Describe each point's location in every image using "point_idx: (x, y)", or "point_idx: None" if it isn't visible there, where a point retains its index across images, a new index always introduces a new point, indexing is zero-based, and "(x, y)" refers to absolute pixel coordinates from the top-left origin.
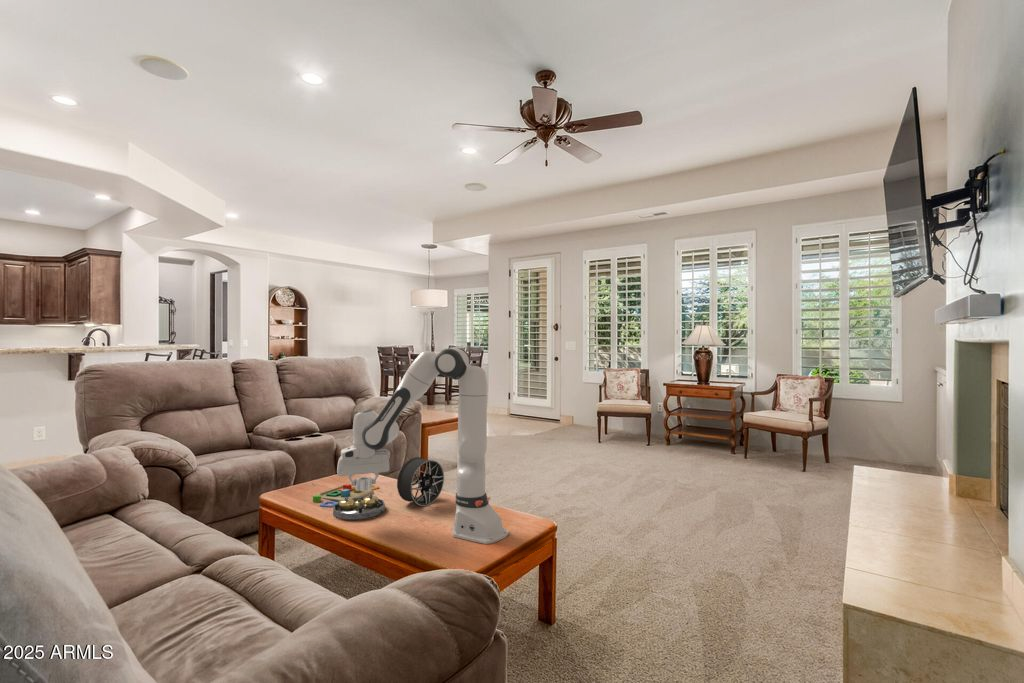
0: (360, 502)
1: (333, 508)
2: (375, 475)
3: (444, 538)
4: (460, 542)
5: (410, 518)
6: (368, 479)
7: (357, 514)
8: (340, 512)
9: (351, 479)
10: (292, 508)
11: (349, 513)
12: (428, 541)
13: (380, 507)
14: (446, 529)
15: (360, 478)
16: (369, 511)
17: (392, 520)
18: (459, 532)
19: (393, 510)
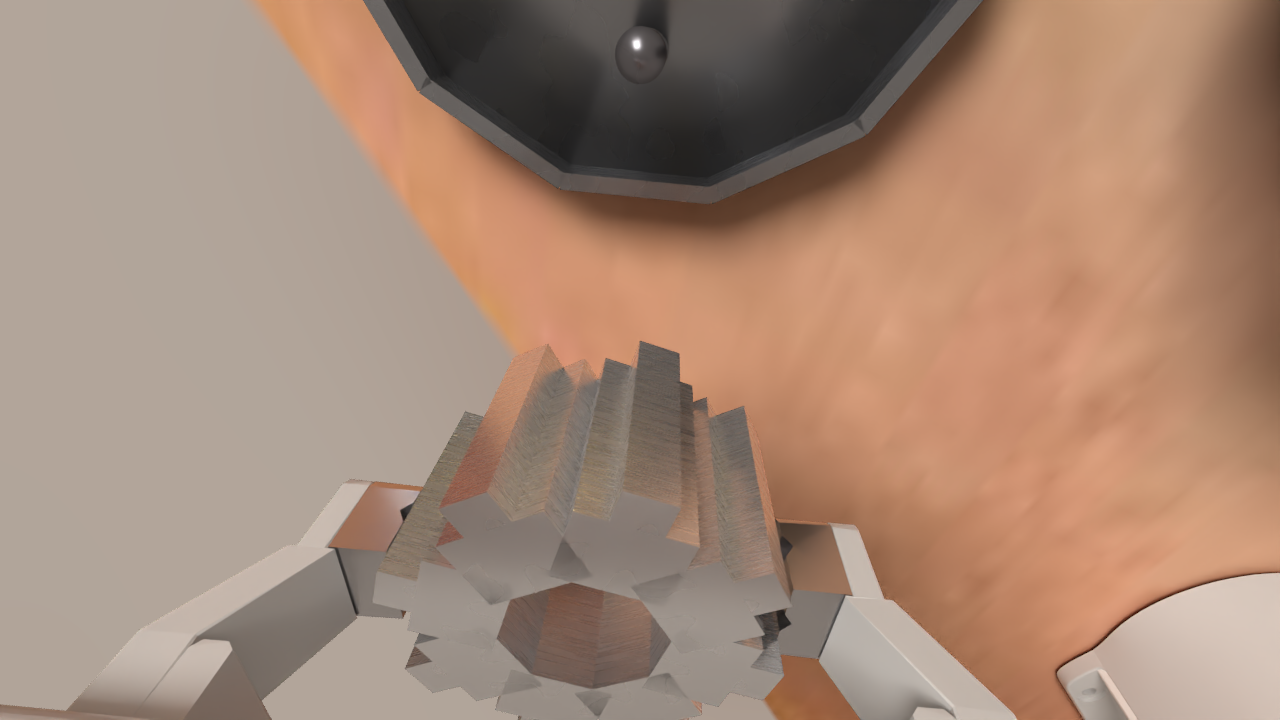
0: (640, 56)
1: None
2: (914, 675)
3: (1004, 665)
4: (1036, 715)
5: (1050, 336)
6: (677, 707)
7: (594, 191)
8: (405, 52)
9: (289, 672)
10: None
11: (509, 140)
12: None
13: (896, 83)
14: (1107, 594)
15: (510, 597)
16: (760, 34)
17: (891, 314)
18: (1107, 690)
19: (1059, 19)
